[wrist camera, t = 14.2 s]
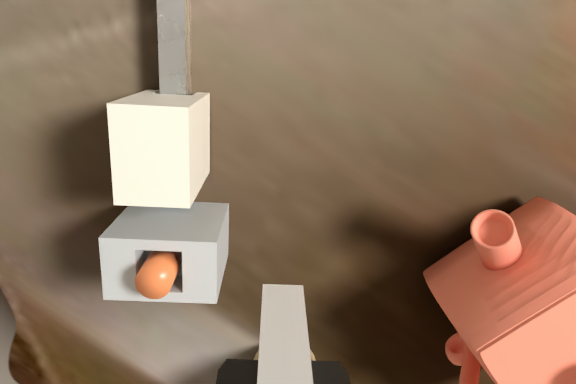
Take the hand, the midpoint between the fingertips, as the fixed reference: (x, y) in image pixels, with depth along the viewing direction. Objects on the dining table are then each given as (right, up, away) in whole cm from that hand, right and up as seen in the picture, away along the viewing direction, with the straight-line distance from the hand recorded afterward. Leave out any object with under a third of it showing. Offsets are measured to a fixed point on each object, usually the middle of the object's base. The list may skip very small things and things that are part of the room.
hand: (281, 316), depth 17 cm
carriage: (-11, +11, +28) cm, 32 cm away
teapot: (+24, -3, +34) cm, 41 cm away
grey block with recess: (-11, +1, +31) cm, 33 cm away
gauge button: (-11, -2, +24) cm, 26 cm away
